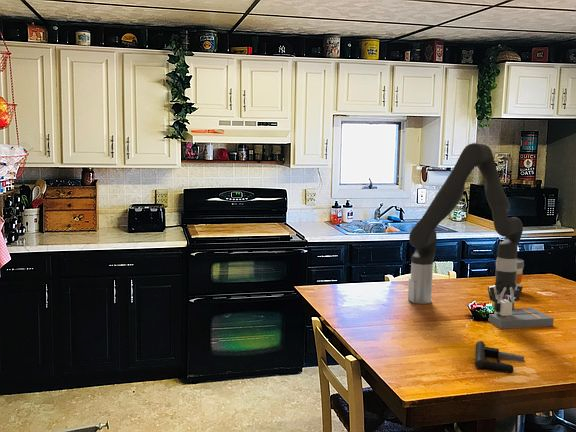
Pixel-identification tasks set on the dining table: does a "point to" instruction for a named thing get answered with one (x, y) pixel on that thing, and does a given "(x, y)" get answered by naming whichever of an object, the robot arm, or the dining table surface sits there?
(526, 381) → the dining table surface
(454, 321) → the dining table surface
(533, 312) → the console board
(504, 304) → the slider knob
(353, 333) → the dining table surface
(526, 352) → the dining table surface
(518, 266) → the reusable coffee cup
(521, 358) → the door handle
